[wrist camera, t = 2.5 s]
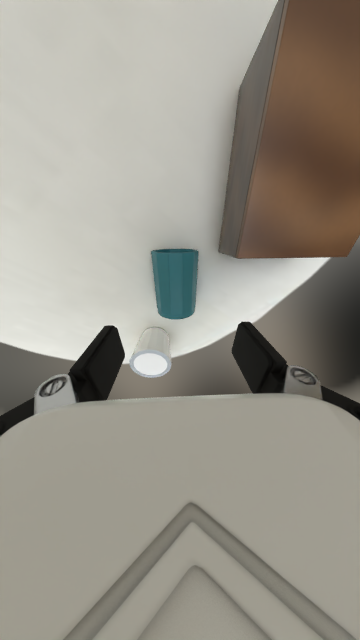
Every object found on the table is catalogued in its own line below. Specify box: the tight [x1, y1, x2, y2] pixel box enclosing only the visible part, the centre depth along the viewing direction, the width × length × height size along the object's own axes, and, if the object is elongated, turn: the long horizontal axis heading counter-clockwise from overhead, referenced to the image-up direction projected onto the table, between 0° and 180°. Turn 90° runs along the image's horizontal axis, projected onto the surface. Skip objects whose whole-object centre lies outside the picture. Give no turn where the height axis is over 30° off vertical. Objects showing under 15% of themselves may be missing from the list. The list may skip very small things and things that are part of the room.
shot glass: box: [130, 327, 171, 378], centre depth 25 cm, size 7×7×7 cm
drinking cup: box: [151, 249, 198, 319], centre depth 19 cm, size 8×6×6 cm
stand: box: [219, 0, 360, 259], centre depth 14 cm, size 14×12×7 cm
